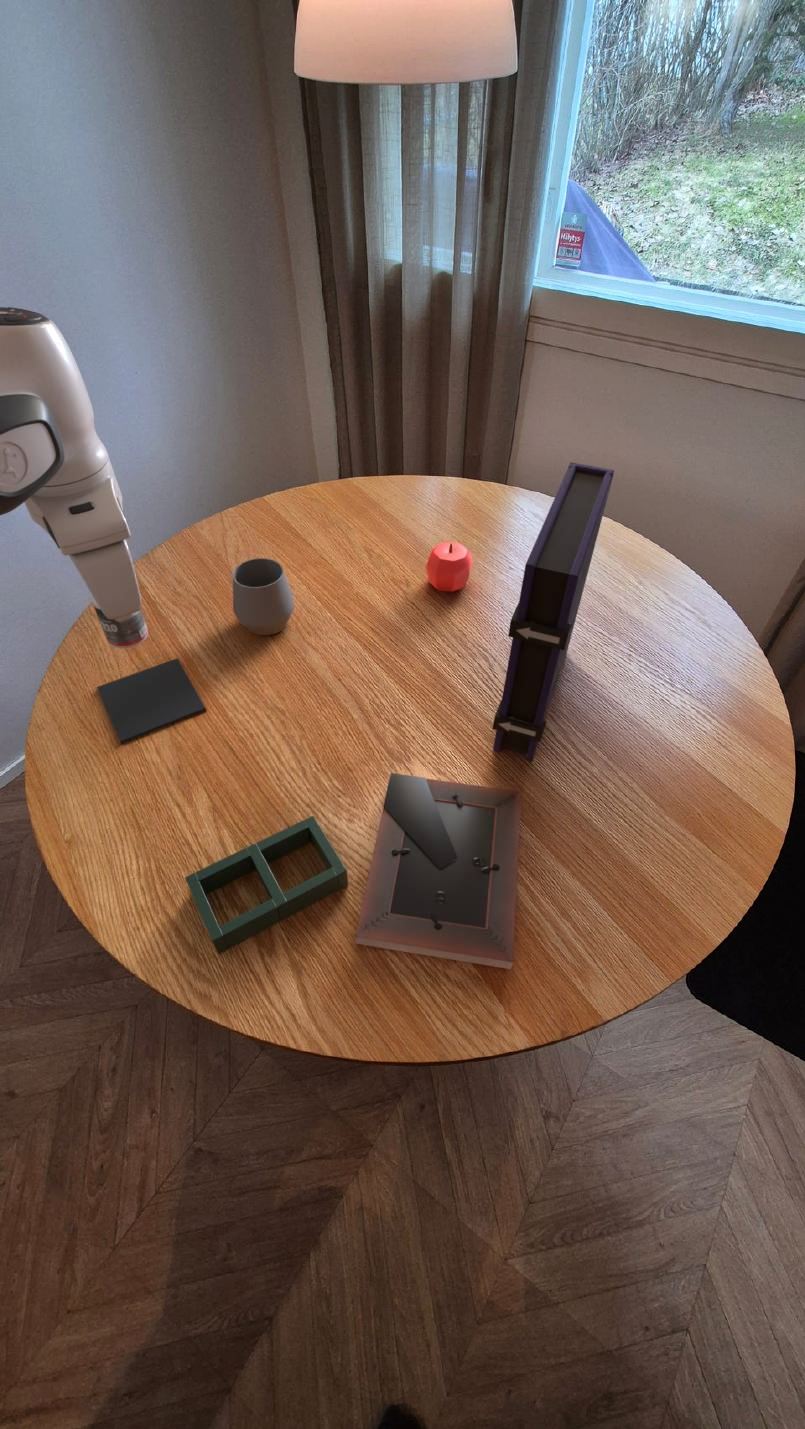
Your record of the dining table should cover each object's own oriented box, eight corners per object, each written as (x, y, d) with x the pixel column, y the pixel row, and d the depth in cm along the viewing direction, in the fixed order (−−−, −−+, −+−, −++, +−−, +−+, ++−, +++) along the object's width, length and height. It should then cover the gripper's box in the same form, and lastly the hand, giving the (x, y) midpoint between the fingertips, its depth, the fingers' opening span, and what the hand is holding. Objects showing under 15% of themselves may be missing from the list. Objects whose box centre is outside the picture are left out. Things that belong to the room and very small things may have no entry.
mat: (121, 744, 89) (119, 741, 89) (98, 689, 96) (96, 686, 96) (206, 710, 93) (205, 707, 93) (178, 660, 100) (177, 657, 100)
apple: (466, 568, 117) (470, 529, 111) (475, 596, 112) (480, 556, 106) (421, 572, 116) (423, 532, 110) (429, 600, 111) (431, 559, 105)
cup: (287, 647, 102) (278, 595, 95) (229, 640, 103) (216, 588, 96) (303, 609, 109) (296, 557, 101) (249, 602, 110) (238, 551, 102)
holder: (218, 954, 70) (211, 941, 67) (191, 892, 75) (184, 877, 72) (348, 885, 76) (347, 870, 73) (315, 831, 80) (313, 815, 78)
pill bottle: (100, 638, 79) (75, 579, 73) (134, 619, 82) (113, 561, 76) (122, 655, 77) (98, 596, 71) (156, 635, 80) (136, 577, 74)
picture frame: (390, 784, 85) (355, 945, 71) (390, 772, 83) (354, 935, 69) (519, 802, 83) (510, 970, 69) (522, 790, 82) (513, 961, 67)
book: (529, 643, 104) (566, 461, 81) (569, 653, 102) (618, 470, 80) (488, 752, 89) (520, 565, 67) (534, 766, 87) (582, 579, 65)
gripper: (18, 455, 70) (66, 564, 81) (61, 551, 59) (110, 664, 69) (79, 441, 73) (118, 549, 83) (132, 531, 61) (170, 643, 71)
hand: (115, 602), depth 76 cm, fingers closed on pill bottle, 5 cm apart
